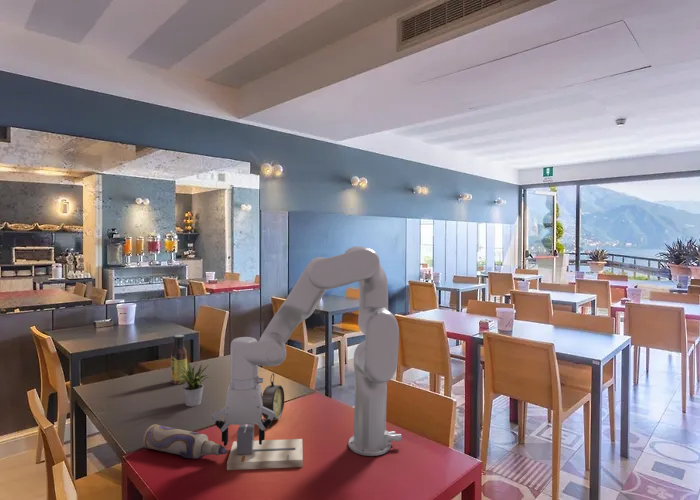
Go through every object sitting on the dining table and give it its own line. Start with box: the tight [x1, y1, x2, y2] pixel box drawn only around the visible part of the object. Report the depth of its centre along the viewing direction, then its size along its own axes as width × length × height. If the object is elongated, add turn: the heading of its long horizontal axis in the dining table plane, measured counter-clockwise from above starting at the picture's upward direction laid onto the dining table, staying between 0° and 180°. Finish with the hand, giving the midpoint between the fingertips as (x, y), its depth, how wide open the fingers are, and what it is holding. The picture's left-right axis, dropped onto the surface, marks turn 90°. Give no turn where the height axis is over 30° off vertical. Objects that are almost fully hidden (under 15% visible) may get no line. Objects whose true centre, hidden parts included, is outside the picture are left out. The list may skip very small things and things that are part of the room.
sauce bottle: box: [170, 334, 188, 385], centre depth 182 cm, size 7×6×20 cm
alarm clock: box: [262, 372, 285, 428], centre depth 146 cm, size 11×5×16 cm, turn 168°
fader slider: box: [236, 424, 255, 454], centre depth 122 cm, size 4×5×6 cm
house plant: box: [175, 360, 213, 407], centre depth 160 cm, size 14×14×16 cm
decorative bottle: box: [142, 423, 228, 459], centre depth 124 cm, size 26×8×7 cm, turn 72°
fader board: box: [226, 438, 304, 471], centre depth 123 cm, size 20×12×2 cm, turn 97°
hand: (243, 443), depth 122 cm, fingers open, 9 cm apart
